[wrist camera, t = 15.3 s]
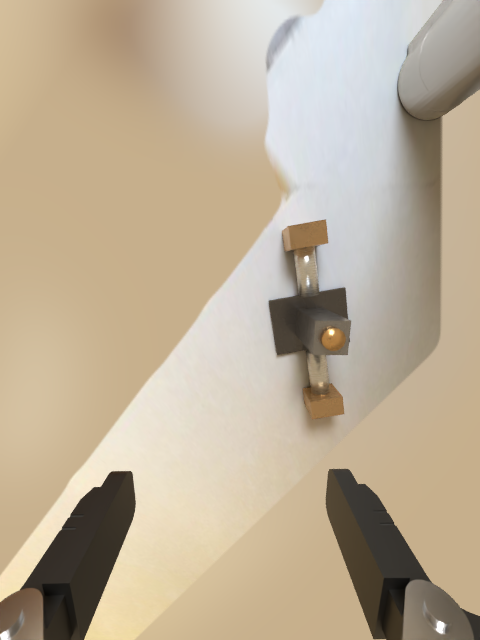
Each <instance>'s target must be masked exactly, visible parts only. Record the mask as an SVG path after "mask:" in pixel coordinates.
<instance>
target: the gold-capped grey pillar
mask: <svg viewBox="0 0 480 640" xmlns="http://www.w3.org/2000/svg"><path fill="white" fill-rule="evenodd" d="M350 327H351V321H350V320H348V319H346V318H344V317H342V316H340V315H338V314H335V313H333V312H331V311H329V310H327V309H311V308H297V321H296V336H297V337H298V339H299V340H300V341H301V342H302V343H303V344H304V345H305V347H306V348H307V349H308V350H309V351H310V352H311V353H312V355H348V346H349V336H350Z"/></svg>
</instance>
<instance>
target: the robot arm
mask: <svg viewBox="0 0 480 640" xmlns="http://www.w3.org/2000/svg"><path fill="white" fill-rule="evenodd" d="M479 89H480V0H443V1H442V3H441V4H440V5H439V7H438V8H437V9H436V10H435V12H434V13H433V14H432V16H431V17H430V18H429V19H428V21H427V22H426V23H425V25H424V26H423V27H422V28H421V30H420V31H419V32H418V34H417V35H416V36H415V37H414V39H413V40H412V41H411V42H410V44H409V46H408V55H407V58H406V59H405V61H404V63H403V65H402V68H401V71H400V74H399V80H398V92H399V96H400V100H401V102H402V104H403V106H404V108H405V109H406V110H407V112H409V113H410V114H411V115H412V116H414V117H416V118H418V119H423V120H433V119H436V118H439V117H441V116H443V115H445V114H446V113H448V112H449V111H450V110H452V109H453V108H455V107H456V106H458V105H459V104H461V103H462V102H463V101H464V100H466V99H467V98H468V97H470V96H471V95H473V94H474V93H475V92H477V91H478V90H479ZM135 505H136V501H135V492H134V483H133V474H132V472H131V471H112V472H110V473H109V475H108V476H107V478H106V480H105V481H104V483H103V484H102V486H101V487H94V488H93V489H92V490H91V491H89V492H88V493H87V494H86V495H85V496H84V497H83V498H82V499H81V500H80V501H79V503H78V504H77V506H76V507H75V509H74V510H73V512H72V513H71V516H70V518H68V519H67V521H66V522H65V524H64V525H63V527H62V530H61V531H59V533H58V534H57V536H56V537H55V539H54V540H53V542H52V543H51V545H50V546H49V548H48V549H47V551H46V552H45V554H44V555H43V557H42V558H41V560H40V561H39V563H38V564H37V566H36V567H35V569H34V570H33V572H32V573H31V575H30V576H29V578H28V579H27V581H26V582H25V584H24V585H23V586H22V588H21V589H20V590H19V591H17V592H15V593H13V594H11V595H10V596H8V597H7V598H5V599H4V600H3V601H1V602H0V640H84V638H85V636H86V633H87V631H88V628H89V626H90V623H91V621H92V618H93V616H94V614H95V611H96V609H97V606H98V604H99V601H100V599H101V596H102V594H103V591H104V589H105V586H106V584H107V582H108V579H109V577H110V574H111V572H112V569H113V567H114V564H115V562H116V559H117V557H118V555H119V552H120V550H121V547H122V545H123V542H124V540H125V537H126V535H127V532H128V530H129V527H130V525H131V523H132V520H133V517H134V512H135ZM326 508H327V513H328V517H329V520H330V523H331V525H332V528H333V531H334V534H335V536H336V539H337V542H338V544H339V547H340V550H341V552H342V555H343V558H344V561H345V563H346V566H347V569H348V571H349V574H350V577H351V579H352V582H353V585H354V588H355V590H356V593H357V596H358V598H359V601H360V604H361V606H362V609H363V612H364V615H365V617H366V620H367V623H368V625H369V628H370V631H371V634H372V636H373V639H386V640H480V616H478V615H475V614H472V613H469V612H467V611H465V610H464V609H462V608H460V607H459V605H458V604H457V603H456V602H455V601H454V600H453V598H451V597H450V596H449V595H448V594H447V593H446V592H445V591H444V590H442V589H441V588H439V587H438V586H436V585H434V584H433V583H432V582H431V581H430V579H429V578H428V576H427V575H426V573H425V572H424V570H423V568H422V567H421V565H420V564H419V562H418V560H417V559H416V557H415V556H414V554H413V552H412V551H411V549H410V548H409V546H408V544H407V543H406V541H405V539H404V538H403V536H402V535H401V533H400V531H399V530H398V528H397V526H395V525H394V522H393V520H392V518H391V517H390V515H389V514H388V513H387V510H386V509H385V507H384V506H383V504H382V502H381V501H380V499H379V498H378V496H377V495H376V494H375V493H374V492H373V491H372V490H371V489H370V488H369V487H368V486H366V485H365V484H358V483H357V482H356V480H355V478H354V476H353V475H352V473H351V471H350V470H348V469H329V471H328V480H327V491H326Z"/></svg>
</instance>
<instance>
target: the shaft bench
mask: <svg viewBox="0 0 480 640" xmlns="http://www.w3.org/2000/svg"><path fill="white" fill-rule="evenodd" d="M282 235H283V242H284V250H285V251H291V250H293V252H294V260H295V268H296V276H297V284H298V292H299V295H298V296H293V297H287V298H281V299H276V300H270V301H269V305H270V312H271V318H272V325H273V332H274V338H275V345H276V351H277V355H278V354H284V353H290V352H296V351H301V350H306V356H307V364H308V372H309V381H310V387H308V388H303V394H304V402H305V405H306V407H307V409H308V411H309V413H310V415H311V417H312V419H317V418H323V417H329V416H335V415H341V414H344V407H343V397H342V395H341V394H340V393H339V392H338V391H337V389H336V388H335V387H334V386H333V385H332V383H331V384H329V379H328V369H327V360H326V355H312V353H311V352H310V351H309V350H308V349H307V348H306V347H305V345H304V344H303V343H302V342H301V341H300V340H299V339H298V337H297V336H296V321H297V308H311V309H327V310H329V311H331V312H333V313H335V314H338V315H340V316H342V317H344V318H346V319H348V314H347V302H346V290H345V287H344V288H338V289H332V290H327V291H321V292H319V284H318V275H317V265H316V256H315V246H318V245H322V244H326V243H328V236H327V226H326V220H320V221H315V222H309V223H304V224H298V225H293V226H288V227H287V228H285V229H284V230H283V231H282ZM349 342H350V338H349Z"/></svg>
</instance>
